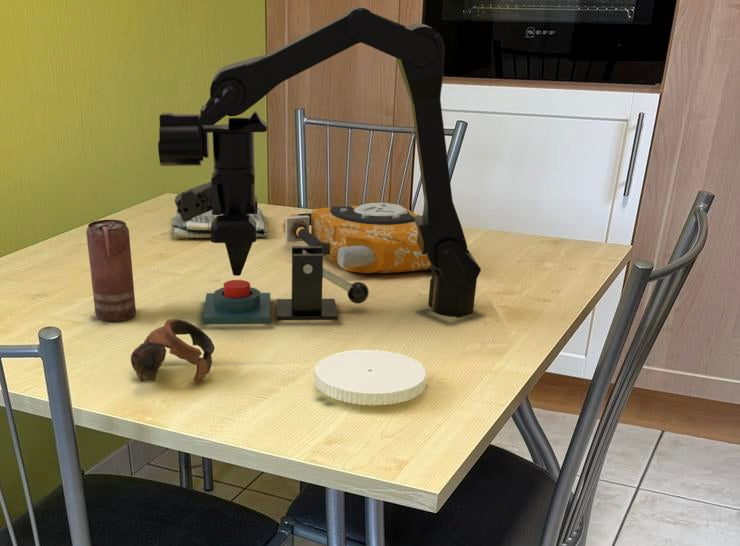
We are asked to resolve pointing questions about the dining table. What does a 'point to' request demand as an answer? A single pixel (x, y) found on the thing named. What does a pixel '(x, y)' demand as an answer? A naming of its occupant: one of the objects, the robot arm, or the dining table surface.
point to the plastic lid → (370, 377)
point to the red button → (236, 289)
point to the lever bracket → (307, 288)
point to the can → (111, 270)
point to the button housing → (236, 308)
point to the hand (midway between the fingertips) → (236, 274)
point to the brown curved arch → (172, 350)
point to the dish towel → (209, 225)
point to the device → (362, 237)
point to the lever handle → (347, 286)
